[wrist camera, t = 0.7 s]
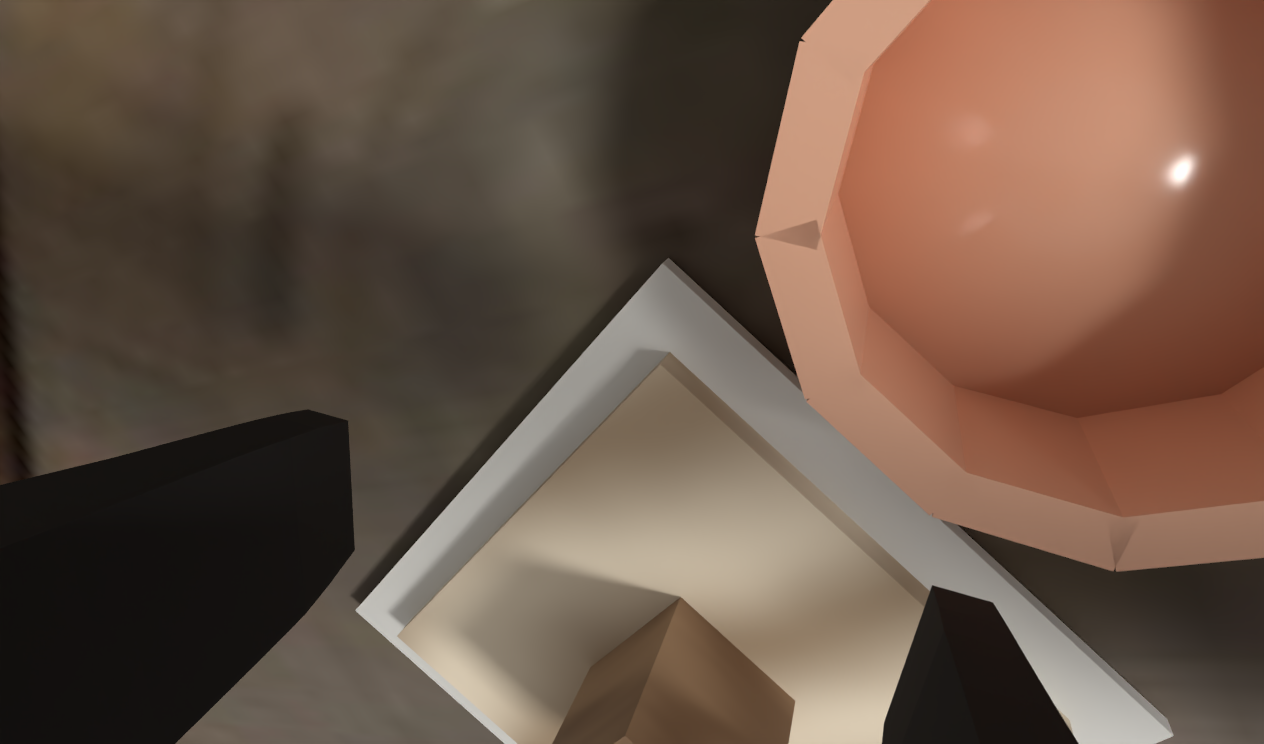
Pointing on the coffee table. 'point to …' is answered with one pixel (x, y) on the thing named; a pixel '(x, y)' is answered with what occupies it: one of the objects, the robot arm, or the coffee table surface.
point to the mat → (776, 409)
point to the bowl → (1035, 264)
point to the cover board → (676, 593)
